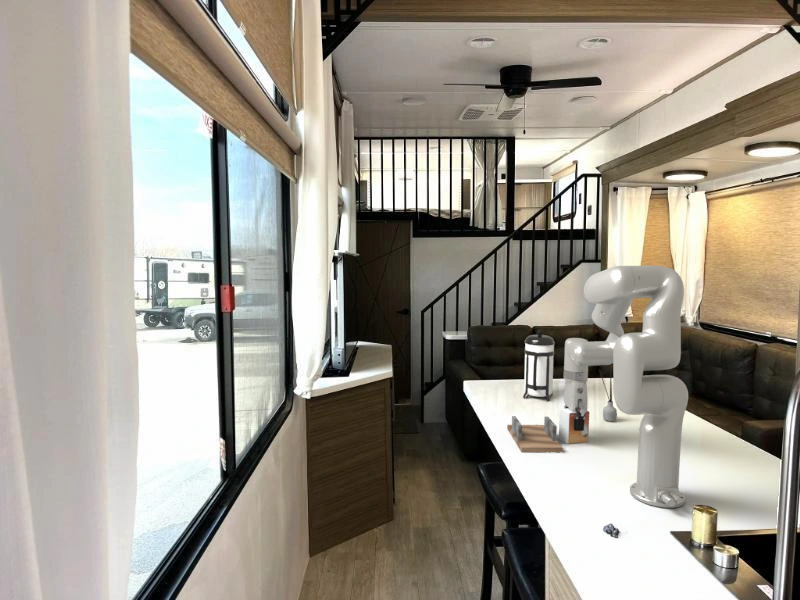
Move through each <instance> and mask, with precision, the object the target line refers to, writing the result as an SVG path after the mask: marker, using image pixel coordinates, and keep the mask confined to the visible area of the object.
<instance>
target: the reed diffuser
mask: <svg viewBox="0 0 800 600" xmlns="http://www.w3.org/2000/svg"><path fill="white" fill-rule="evenodd" d="M598 370H599V373H600V377H601V379H602V383H603V387H604V390H605V392H606V397H608V401H607V404H606V406H605V407H603V409H602V419H603V420H605V421H610V422H612V421H613V422H614V421H616V420H617V419H618V410H617V408H615V406H614V401H613V394H612V393H613V392H612V391H613V390H612V389H613V388H612V367H610V368H609V371H610V372H609V373H610V374H609V375H610V376H609V380H610V381H609V383H610V384H609V393H608V391H607V388H606V387H607V386H606V384H605V381H604V378H603V375H602V372H601V369H598Z"/></svg>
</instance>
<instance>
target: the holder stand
mask: <svg viewBox="0 0 800 600" xmlns="http://www.w3.org/2000/svg"><path fill="white" fill-rule="evenodd" d="M543 420H544V423H543V424H522V423H521V422H520V420H519V419H518V418H517V416H514V415H513V416H512V417H511V424H507V425H506V428H507V431H508V432H509V434H510V436H511V438H512V439H513V440H514V442H515V444H516V446H517V447H518V449H519V452H521V453H546V452H549V453H551V452H556V454H557V453H560V452H563V453H564V451H563V450H564V448H563V446H562V445H561V444H560V442H558V440H557V435H558V434H557V430H558V429H557V428H558V427H557V424H556V423H554V422H553V420H552V419H551V418H550V417H549V416H544V419H543Z"/></svg>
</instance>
